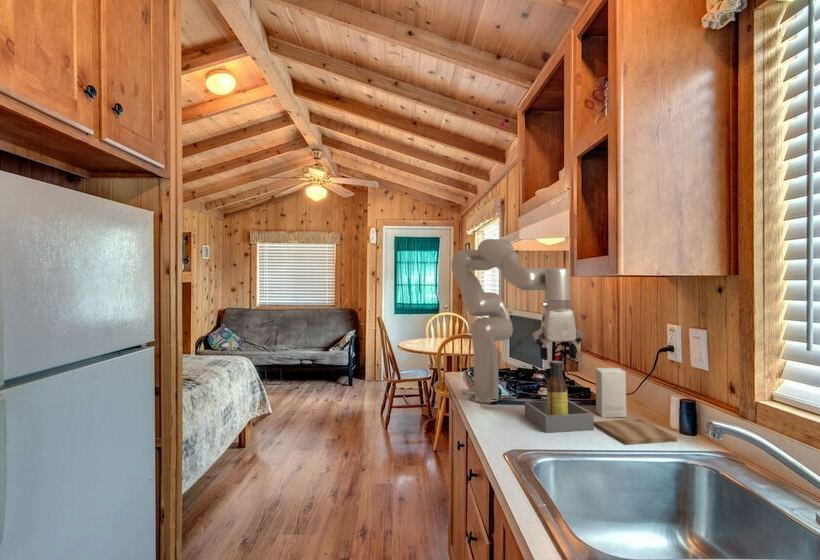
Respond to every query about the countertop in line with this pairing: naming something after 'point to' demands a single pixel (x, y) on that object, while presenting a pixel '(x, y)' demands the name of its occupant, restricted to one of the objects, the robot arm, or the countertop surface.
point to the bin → (559, 417)
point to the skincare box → (610, 392)
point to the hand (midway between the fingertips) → (558, 358)
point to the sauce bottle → (556, 390)
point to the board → (634, 431)
